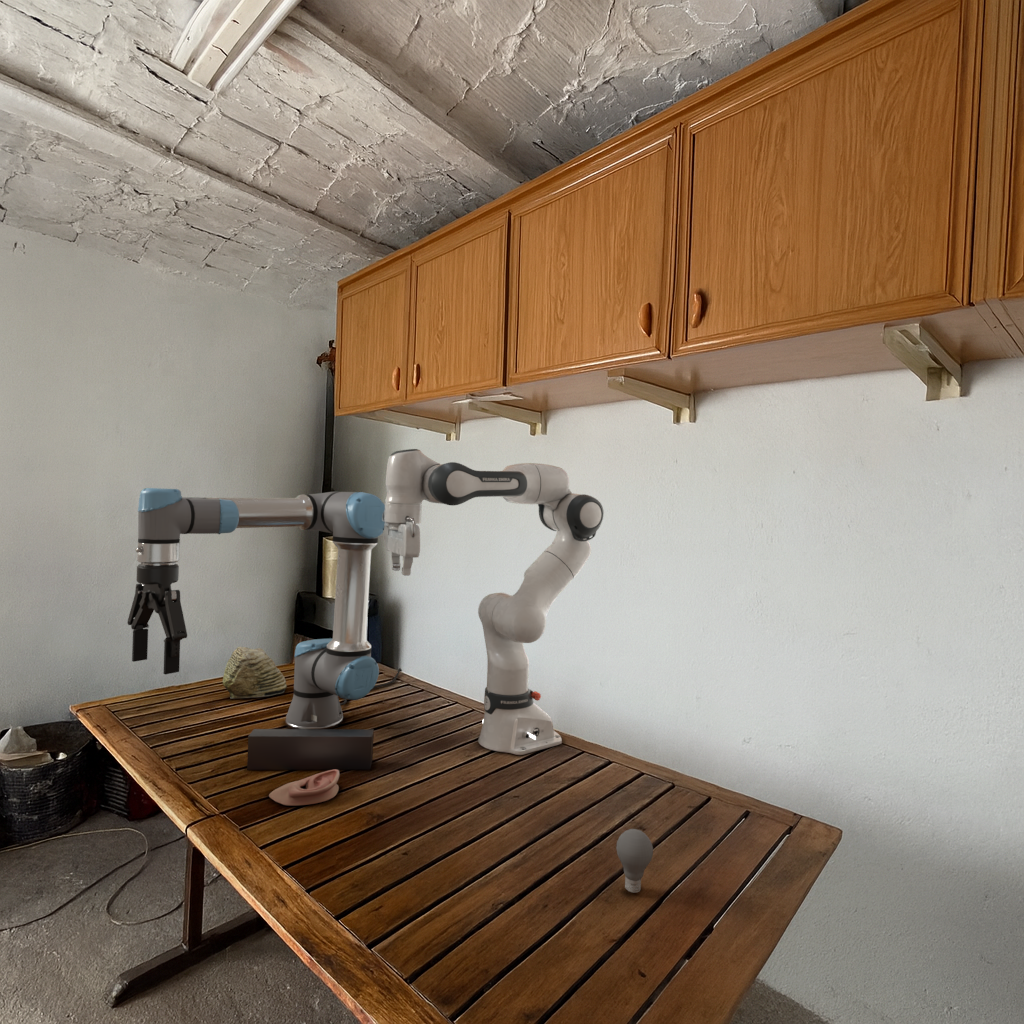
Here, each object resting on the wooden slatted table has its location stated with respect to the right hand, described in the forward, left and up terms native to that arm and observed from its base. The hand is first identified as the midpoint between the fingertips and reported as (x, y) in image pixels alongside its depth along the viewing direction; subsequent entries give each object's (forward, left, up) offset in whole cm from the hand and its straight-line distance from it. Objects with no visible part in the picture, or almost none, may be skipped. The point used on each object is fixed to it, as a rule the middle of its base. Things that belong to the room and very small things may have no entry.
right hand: (400, 572), depth 153 cm
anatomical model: (+23, +11, -46) cm, 52 cm away
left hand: (+51, 0, -19) cm, 55 cm away
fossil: (+26, -63, -46) cm, 82 cm away
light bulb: (-21, +66, -46) cm, 83 cm away
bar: (+19, -3, -46) cm, 50 cm away
